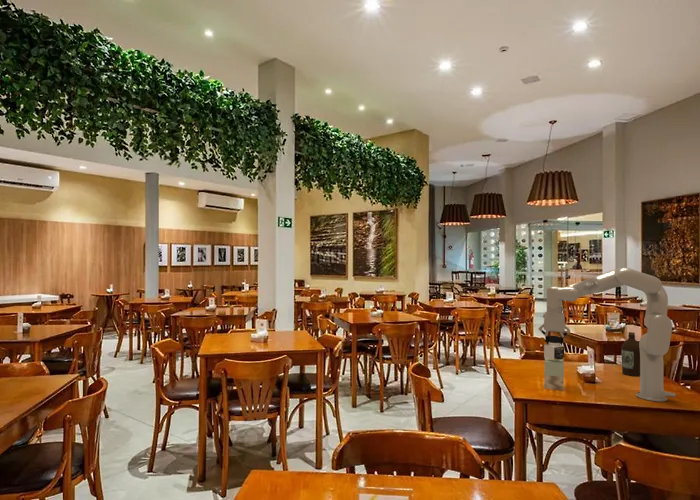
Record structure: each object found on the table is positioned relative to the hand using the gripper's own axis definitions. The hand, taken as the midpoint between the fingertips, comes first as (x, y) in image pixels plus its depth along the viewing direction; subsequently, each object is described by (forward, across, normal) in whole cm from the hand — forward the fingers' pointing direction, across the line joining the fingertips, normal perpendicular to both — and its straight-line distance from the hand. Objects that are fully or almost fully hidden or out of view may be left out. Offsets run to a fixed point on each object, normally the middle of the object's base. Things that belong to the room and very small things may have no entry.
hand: (554, 343), depth 238 cm
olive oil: (+23, -44, -52) cm, 72 cm away
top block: (+16, 0, 0) cm, 16 cm away
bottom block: (+23, 0, 0) cm, 23 cm away
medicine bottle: (+8, 0, 0) cm, 8 cm away
